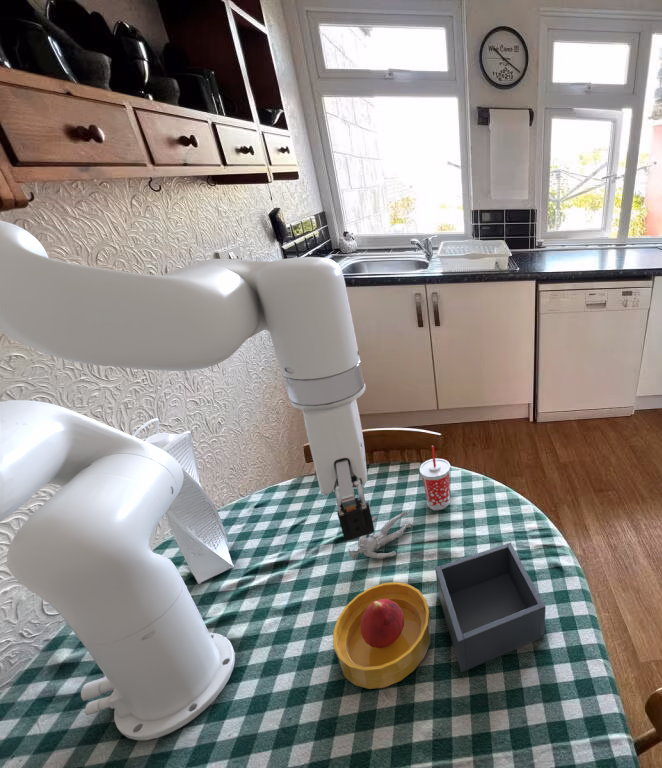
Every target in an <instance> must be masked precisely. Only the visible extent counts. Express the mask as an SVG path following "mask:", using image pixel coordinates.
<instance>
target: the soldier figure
mask: <svg viewBox="0 0 662 768" xmlns="http://www.w3.org/2000/svg"><path fill="white" fill-rule="evenodd" d="M407 515H408V511H407V510H404V511H403V512H401V513H399V514H397V515H396V516H394V517H392V518H390V519H389V520H388V521H386V522H385V524H384V525H383V526H382V527H381V529H380V530H378V531H376V532H373V533H371V534H368V537H367V535H364V536H361V537H358V546H357V548H356V547H353V548H350V547H349V548H347V551H348V554H349V556H350V558H351V559H352V560H353V561H355V560H356V559H357V557H358V556H359V553H360V554H363V555H364V556H365V557H367V558H372V559H378V560H379V559H386V558H391V557H394V556H396V555H397V552H396V551H395V550H393V551H391V552H388V553H386V552H385V553H384V552H383V553H382V552H375V551H377V550H379V549H380V548H381V547H383V546H385V545H387V544H389V543H391V542H393V541H394V540H396V539H397V538H400V537H402V536H403V533H404V532H405V531H406V529H409V528H410V529H411V528H412V527H414V523H413V522H408V523H406V524H404V525H403V526H402V527H401V528H399V529H398V530H396V531H394V532H392V533H389V531H390V530H391V528H393V526H394V525H395V524H396V522H397V521H398V520H399V519H400V518H403V517H406V516H407ZM378 518H379V517H378V515H374V516H372V521H373V523H375V522H378V520H377V519H378ZM388 533H389V534H388Z"/></svg>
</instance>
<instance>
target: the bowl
mask: <svg viewBox="0 0 662 768" xmlns="http://www.w3.org/2000/svg"><path fill="white" fill-rule="evenodd" d="M380 599H389V600H391V601H393V602H395V603H397V604H398V606H399V607H400V608H401V609H402V611H403V614H404V627H403V629H402V632H401V634H400V636H399V637H398V638H397V640H396V641H395V642H394V643H392V644H391V645H389V646H388V647H384V648H376V647H371V646H370V645H368V644H367V643H366V642H365V641H364V639H363V637H362V635H361V619H362V617H363V614H364V612H365V610H366V609H367V608H368V607H369V605H370V604H372V603H373V602H374V601H377V600H380ZM428 605H429V604H428V602H427V599H426V597H425V596H424V595H423V593H422V592H421V591H420V590H419V589H417V588H416V587H414V586H412V585H411V584H409V583H408V584H407V583H404V582H399V581H395V582H392V581H391V582H383V583H379V584H377V585H374V586H370V587H368V588H367V589H365V590H363V591H362V592H360V593H358V594H357V595H356V596H355V597H354V598H353V599H352V600H350V602H349V603H347V604H346V605H345V607H344V608H343V609H342V611H341V612H340V614H339V616H338V617H337V619H336V623H335V625H334V627H333V631H332V641H333V642H332V645H333V646H332V647H333V650H334V653H335V656H336V659H337V663H338V666H339V668H340V670H341V672H342V674H343V676H344V678H346V679H347V680H348V681H349V682H350V683H352V684H353V685H354V686H357V687H360V688H363V689H364V688H365V689H366V690H367V689H368V690H372V689H373V690H374V689H382V688H383V689H384V688H386V687H390V686H391V685H394V684H396V683H398V682H401V681H402V680H404V679H405V678H406V677H408V676H409V675H410V674H412V673H413V672H414V671H415V670H416V669H417V668H418V666H419V665H420V663H422V661H423V660H424V658H425V657H426V654H427V652H428V649H429V648H430V644H431V640H432V631H433V630H432V622H431V615H430V610H429V606H428Z"/></svg>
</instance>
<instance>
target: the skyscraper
mask: <svg viewBox="0 0 662 768" xmlns="http://www.w3.org/2000/svg"><path fill="white" fill-rule="evenodd" d="M159 420H160V419H159V418H157V417H156V418H152V419H149V420H147V421H146V422H145V423H143V424H142V425H141V426H140V427H138V428H137V429H136V430H135V431H134V432H133V434H132V436H134V437H137V436H138V434H139V433H140V432H141V431H142V430H143V429H144V428H146V427H147V426H149V425H150V424H153V423H155V431H156V432H155V434H152V435H150V436H148V437H146V439H145V440H144V441H145V442H148V443H150V444H152V445H154V446H156V447H158V448H160V449H162V450H164V451H165V452H167V453H168V454H170V455H171V456H172V457H173V458H174V459H175V460H176V461H177V462H178V463H179V465H180V466H181V468H182V471H183V484H182V487H181V490H180V492H179V493H178V495H177V497H176V498H175V500H174V501H173V503H172V504H171V505H170V507H169V508H168V510H167V511H166V513H165V514H164V516H165V518H166V521H167V523H168V527H169V529H170V531H171V533H172V535H173V538H174V540H175V542H176V544H177V547H178V549H179V550H180V552H181V555H182V556H183V558H184V560H185V562H186V564H187V566H188V568H189V569H190V571H191V573H192V575H193V577H194V579H195V580H196V583H197V584H198V585H200V584H202V583H203V582H205V581H208V580H210V579H211V578H213V577H216V576H218V575H220V574H222V573H224V572H226V571H228V570H231V569H234V568H235V565H234V564H233V561H232V558H231V555H230V552H229V550H230V546H229V541H228V538H227V534H226V533H227V532H226V530H225V527H224V524H223V521H222V519H221V516H220V514H219V511H218V509H217V508H216V506H215V504H214V503H213V501H212V499H211V498H210V497H209V495H208V494H207V492H206V491H205V490H204V488H203V487H202V484H201V482H200V476H199V467H198V462H197V460H198V459H197V456H196V451H195V446H194V441H193V437H192V432H191V431H190V430H185V431H184V432H182V433H169V432H163V431H162V432H160V421H159Z"/></svg>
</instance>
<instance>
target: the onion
mask: <svg viewBox="0 0 662 768" xmlns="http://www.w3.org/2000/svg"><path fill="white" fill-rule="evenodd" d="M403 627H404V614H403V611H402V609H401V608H400V607H399V606H398V604H397V603H395V602H393V601H391V600H389V599H380V600H377V601H374V602H373V603H372V604H370V605H369V607H368V608H367V609H366V610H365V612H364V614H363V617H362V619H361V635H362V637H363V639H364V641H365V642H366V643H367V644H368V645H370V646H371V647H376V648H384V647H388V646H389V645H391V644H392V643H394V642H395V641H396V640H397V638H398V637H399V636H400V634H401V632H402V629H403Z"/></svg>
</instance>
